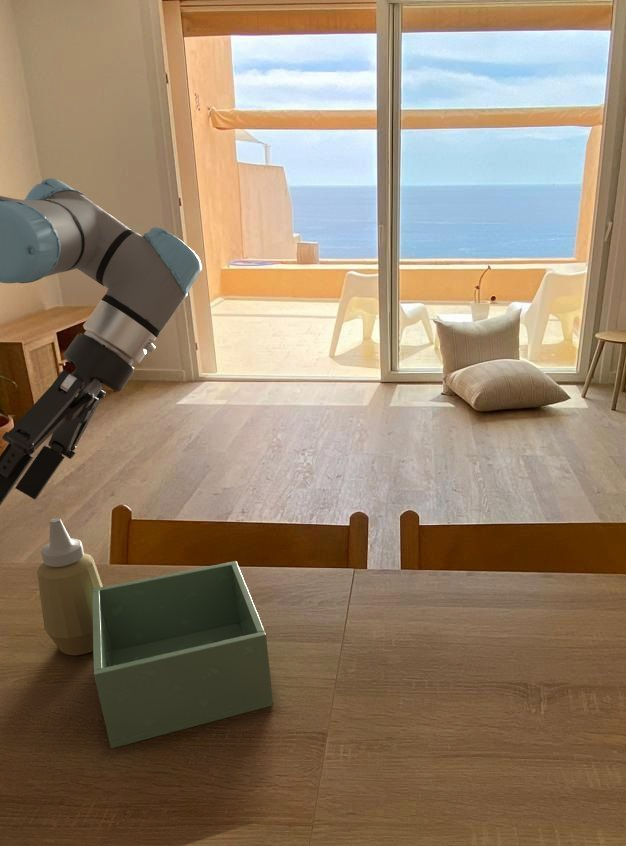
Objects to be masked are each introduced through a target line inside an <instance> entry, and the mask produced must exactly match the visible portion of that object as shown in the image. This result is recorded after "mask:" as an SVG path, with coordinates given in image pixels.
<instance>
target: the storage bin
mask: <svg viewBox="0 0 626 846" xmlns="http://www.w3.org/2000/svg"><path fill="white" fill-rule="evenodd" d="M92 598H93V651H92V653H93V677H94V681H95V685H96V690H97V694H98V699H99V703H100V708H101V712H102V716H103V719H104V724H105V729H106V733H107V737H108V742H109V746H110V749H114V748H119V747H123V746H126V745H129V744H133V743H134V744H135V743H138V742H141V741H145V740H148V739H153V738H156V737H160V736H164V735H167V734H172V733H175V732H179V731H183V730H187V729H190V728H193V727H196V726H197V727H198V726H201V725H205V724H208V723H212V722H216V721H220V720H224V719H227V718H231V717H235V716H239V715H242V714H246V713H250V712H253V711H257V710H261V709H265V708H268V707H273V706H274V698H273V697H274V696H273V688H272V678H271V669H270V660H269V649H268V639H267V634H266V632H265V629H264V626H263V624H262V621H261V619H260V616H259V613H258V611H257V609H256V606H255V604H254V601H253V599H252V596H251V594H250V591H249V588H248V587H247V584H246V581H245V579H244V577H243V574H242V572H241V569H240V566H239V564H238V561H236V560H234V561H229V562H223V563H219V564H218V563H217V564H213V565H208V566H203V567H199V568H193V569H187V570H183V571H176V572H173V573H167V574H162V575H156V576H152V577H146V578H141V579H137V580H132V581H131V580H130V581H127V582H126V581H125V582H121V583H116V584H111V585H106V586H105V585H104V586H103V587H100V588H94V589H92Z"/></svg>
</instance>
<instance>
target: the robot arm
mask: <svg viewBox="0 0 626 846" xmlns="http://www.w3.org/2000/svg"><path fill="white" fill-rule="evenodd" d="M76 269H77V270H79V271H80V272H82V273H83V274H84V275H86V276H88V277H89V278H91V279H92V280H93V281H95V282H97V283H98V284H100V285H101V286H102V287H105V288H107V291H106V292H105V294H104V295H103V297H102V298H101V300H100V301H99V302H98V304H97V305H96V306H95V308H94V309H93V311H92V312H91V313H90V314H89V316H88V317H87V319H86V320H85V322H84V323H83V325H82V327H83V329H84V330H85V331H84V333H82V332H80V333H77V334H76V336H75V337H74V338H73V340H72V341H71V342H70V344H69V346H68V347H67V349H66V350H65V351H64V352H63V358H64V360H65V361H67V362H68V363H69V364H71V365H73V366H74V367H75V369H74V370H73V371H72V372H69V371H68V370H66V369H63V370H62V371H60V372H59V374H58V376H57V377H56V378H55V380H54V381H53V383H52V384H51V386H50V387H48V389H47V390H45V392H44V393H42V395H41V397H40V398H38V399H37V401H36V402H35V403H34V404H33V405H32V406H31V407H30V408H29V409H28V411H26V413H25V414H24V415H23V416H22V417H21V418H20V419H19V420H18V422H16V424H15V425H14V426H13V427H12V428H11V429H9V431H5V432H4V433H3V436H2V438H1V440H3V441H4V442H6V443H8V444H7V445H6V447H5V448H4V450H3V451H2V453H1V454H0V506H2V504H3V502H4V501H5V499H6V498H7V497H8V495H9V494H10V492H11V491H12V490H13V488H14V487H15V488H14V489H16V490H17V491H19V492H21V493H22V494H24V495H26V496H28V497H29V498H31V499H33V500H37V499H38V497H39V496H40V494H41V493H42V491H44V489H45V487H46V485H47V484H48V483H49V481H50V480H51V478H52V477H53V475H54V474H55V473H56V471H57V470H58V468H59V467H60V465H61V464H62V462H63V461H64V459H65V458H68V459H69V460H72V459H73V458H74V456H75V454H76V452H75V450H76V449H77V445H78V443H79V442H80V440H81V438H82V437H83V434H84V433H85V431H86V429H87V427H88V425H89V423H90V421H91V419H92V418H93V416H94V414H95V412H96V410H97V409H98V406H99V405H100V404H101V402H102V400H103V399H104V398H105V397H106V394H107V392H106V391H104V390H102V388H103V386H106V387H107V388H109V389H110V390H112V391H114V392H118V393H120V392H122V391H123V389H124V388H125V386H126V384H128V383H129V380H130V379H131V377H132V376H133V375H134V373H135V367H134V366H132V365H133V364H134V363H135V364H140V363H141V362H142V360H143V359H144V358H145V356H146V355H147V352H149V353H154V352H155V351H156V346H155V345H154V343H155V341H156V339H157V338H158V337H159V336H160V334H161V333H162V331H163V330H164V329H165V327H166V326H167V324H168V323H169V321H171V319H172V317H173V316H174V314H175V313H176V311H177V310H178V309H179V308H180V306H181V305H182V304H183V302H184V300H186V298H187V297H188V296H189V294H188V293H189V292H190V290H191V289H192V287H193V286H194V284H195V282H196V280H197V279H198V277H199V275H200V273H201V272H202V269H203V266H202V262H201V260H200V257H199V256H198V254H196V252H195V251H194V250H193V249H192V248H191V247H190V246H189V245H187V243H185V242H184V241H183V240H181V238H179V237H177V236H176V235H174V234H173V233H171V232H169V231H168V230H166V229H164V228H162V227H158V226H154V227H153V226H152V227H151V228H150V229H149V230H148V232H145V233H144V234H143V235H142V234H140V233H138V232H135V231H134V230H133V229H131V228H130V227H128V226H127V225H125V223H123V222H121V221H120V220H119V219H117V218H116V217H114V216H113V215H111V214H110V213H109V212H107V211H106V210H104V209H103V208H101V206H99V205H97V204H96V203H94V202H93V201H92V200H91V199H89V198H88V197H87V196H86V195H85V194H84V193H82V191H80V190H78V189H74V188H72V187H71V186H70V185H67V183H65V182H63V181H61V180H60V179H57V178H45V179H43V180H42V181H41V182H40V183H37V184H35V185H34V186H33V187H32V188H31V189H30V191H29V192H28V193H27V195H26V196H25V197H24V199H18V198H13V197H8V196H3V195H0V283H2V284H30V283H34V282H36V281H39V280H41V279H44V278H47V277H49V276H53V275H57V274H60V273H65V272H69V271H73V270H76ZM48 438H50V439H49V441H48V445H45V444H44V442H46V440H48ZM42 444H44V445H43V446H42V448H41V449H40V451H39V452H38V454H37V455H36V456H35V458H34V455H32V454H34V453H36V450H38V449H39V448H40V446H41V445H42ZM33 459H34V460H33ZM31 461H32V462H31ZM26 469H27V470H26ZM24 472H25V473H24ZM19 479H20V480H19ZM15 485H16V486H15Z"/></svg>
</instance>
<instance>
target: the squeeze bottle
mask: <svg viewBox="0 0 626 846" xmlns="http://www.w3.org/2000/svg"><path fill="white" fill-rule="evenodd" d="M65 527H66V526H65V525H64V524H63V521H62V519H61V518H60V517H53V518H51V519H50V520H49V537H48V539H49V542H48V543H46V544H45V545H43V547H42V548H41V550H40V554H41V558H42V563H41V564H40V565H39V566H38V569H37V574H36V575H37V581H38V588H39V597H40V604H41V612H42V613H41V614H42V618H43V619H42V620H43V627H44V630H45V632H46V634H47V635H48V636H49V638H50V639H51V641H53V643H54V644H55V646H57V648H58V649H59V651H60V652H61V653H63V654H64V655H67V656H80V655H86V654H89V653H93V598H92V589H94V588H100V587H104V586H103V585H104V584H103V582H102V580H101V576H100V574H99V571H98V567H97V564H96V563H95V559H94V558H93V556H92V555H91V554H88V553H85V551H84V547H83V543H82V541H81V540H80V539H77V538H75V537H73V538H71V537H70V535H69V533H68V530H66V528H65Z"/></svg>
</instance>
